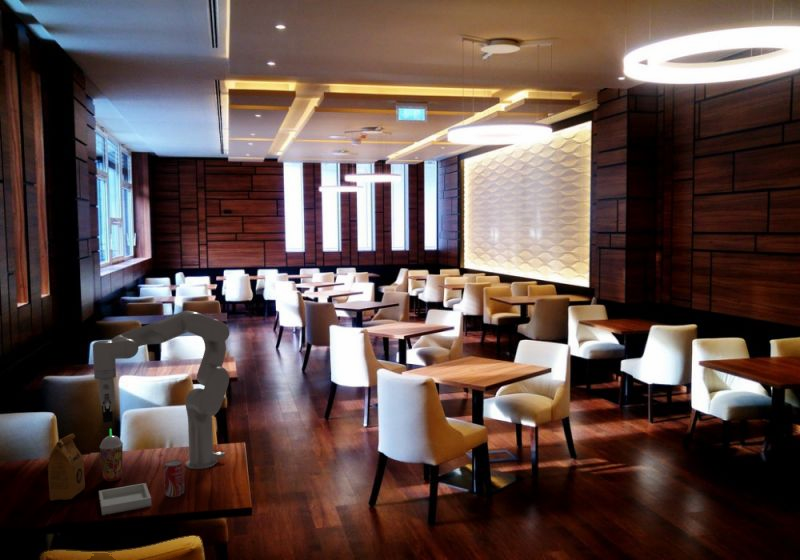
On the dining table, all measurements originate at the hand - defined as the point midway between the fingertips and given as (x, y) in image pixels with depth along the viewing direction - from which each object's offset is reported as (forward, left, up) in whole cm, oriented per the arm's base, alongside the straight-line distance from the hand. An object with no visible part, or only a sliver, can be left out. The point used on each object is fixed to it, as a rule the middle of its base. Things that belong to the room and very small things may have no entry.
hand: (107, 418), depth 258 cm
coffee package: (+15, +1, -27) cm, 31 cm away
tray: (-3, +18, -27) cm, 32 cm away
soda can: (-20, +19, -27) cm, 39 cm away
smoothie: (-1, -9, -27) cm, 28 cm away
